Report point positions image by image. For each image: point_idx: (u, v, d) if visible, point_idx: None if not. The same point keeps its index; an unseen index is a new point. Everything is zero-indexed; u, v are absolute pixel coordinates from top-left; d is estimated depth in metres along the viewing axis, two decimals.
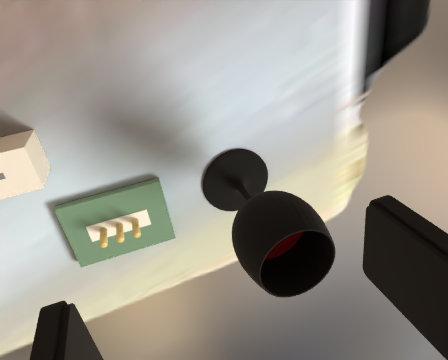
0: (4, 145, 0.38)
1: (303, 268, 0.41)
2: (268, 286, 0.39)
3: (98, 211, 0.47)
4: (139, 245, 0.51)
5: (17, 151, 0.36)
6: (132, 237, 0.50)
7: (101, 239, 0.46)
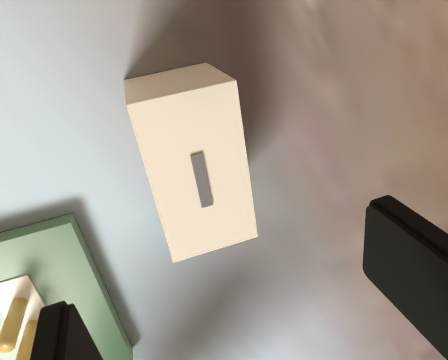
0: None
1: None
2: None
3: (68, 290, 0.24)
4: None
5: (251, 227, 0.20)
6: None
7: (15, 333, 0.21)
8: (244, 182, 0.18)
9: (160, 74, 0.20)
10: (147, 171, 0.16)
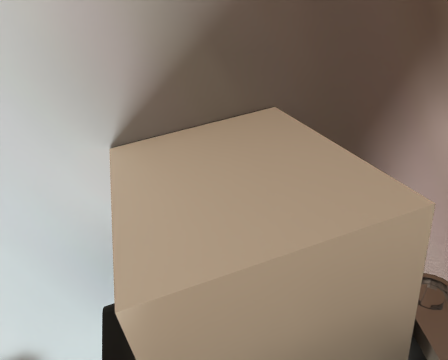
0: None
1: None
2: None
3: None
4: None
5: None
6: None
7: None
8: None
9: (187, 138, 0.09)
10: None
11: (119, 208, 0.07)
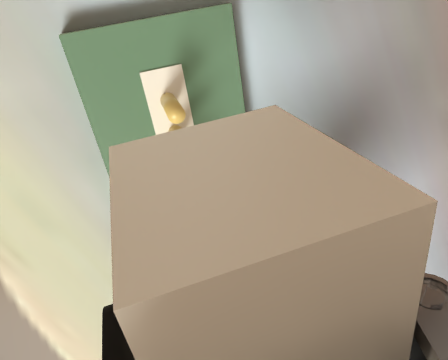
0: None
1: None
2: None
3: (214, 93, 0.23)
4: None
5: None
6: None
7: (182, 107, 0.20)
8: None
9: (187, 136, 0.09)
10: None
11: (118, 206, 0.07)
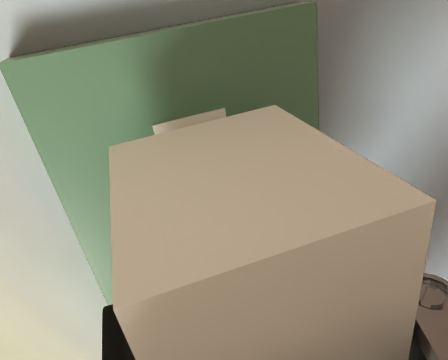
0: None
1: None
2: None
3: None
4: None
5: None
6: None
7: None
8: None
9: (187, 136, 0.09)
10: None
11: (118, 205, 0.07)
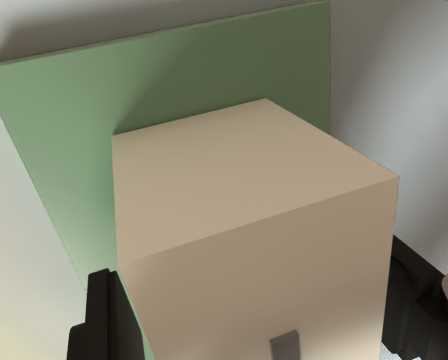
0: None
1: None
2: None
3: None
4: None
5: None
6: None
7: None
8: None
9: (183, 126, 0.10)
10: None
11: (120, 185, 0.07)
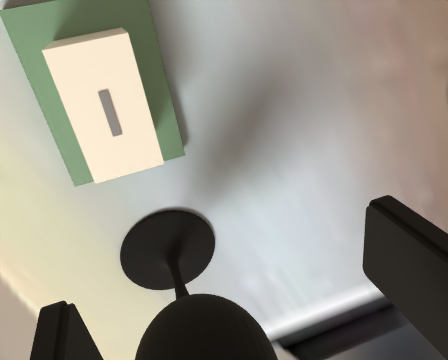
0: None
1: None
2: None
3: (137, 61, 0.28)
4: (59, 127, 0.28)
5: (157, 155, 0.25)
6: None
7: None
8: (146, 116, 0.23)
9: (81, 35, 0.25)
10: (64, 104, 0.22)
11: (49, 45, 0.22)
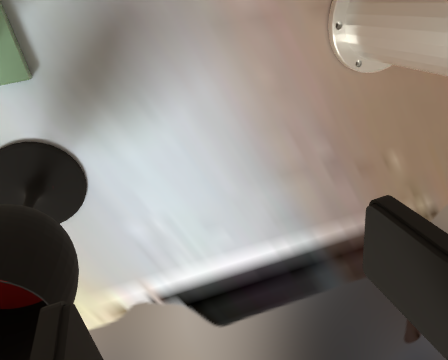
0: None
1: None
2: None
3: None
4: None
5: None
6: None
7: None
8: None
9: None
10: None
11: None
